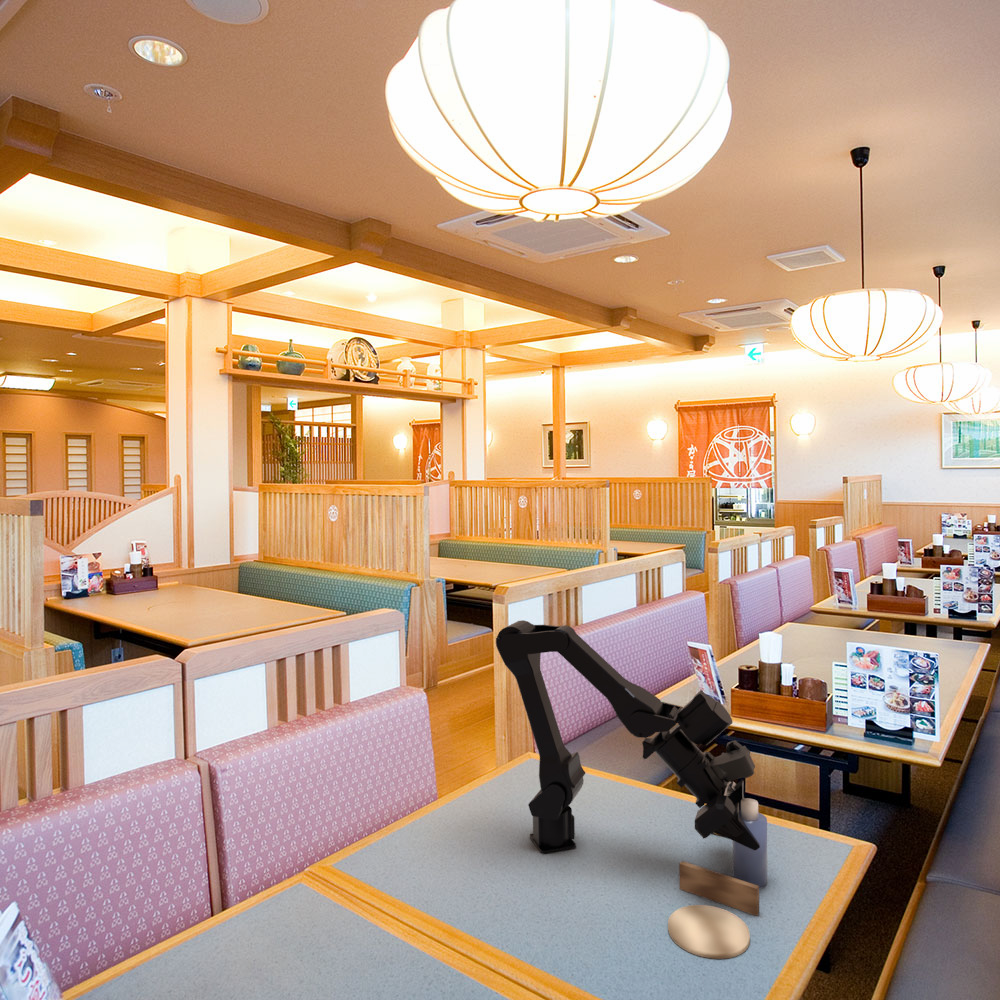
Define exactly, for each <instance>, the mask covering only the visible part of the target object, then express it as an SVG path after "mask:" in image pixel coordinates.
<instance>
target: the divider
mask: <svg viewBox="0 0 1000 1000" xmlns="http://www.w3.org/2000/svg"><path fill="white" fill-rule="evenodd" d="M678 865H679V866H678V867H679V869H678V871H679V874H678V875H679V877H678V878H679V882H678V883H679V890H682V891H684V892H686V893H690V894H693V895H696V896H699V897H701V898H704V899H707V900H710V901H713V902H715V903H719V904H721V905H724V906H726V907H727V906H728V907H730V908H733V909H735V910H738V911H739V910H740V911H741V912H744V913H748V914H750V915H752V916H756V917H757V916H759V914H760V888H759V886H758V885H755V884H752V883H748V882H745V881H742V880H739V879H736V878H733V876H730V875H726V874H723V873H720V872H718V871H714V870H710V869H708V868H705V867H702V866H699V865H697V864H692V863H690V862H686V861H683V860H681V861H680V862H679V864H678Z"/></svg>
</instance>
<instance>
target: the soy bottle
mask: <svg viewBox="0 0 1000 1000" xmlns="http://www.w3.org/2000/svg"><path fill="white" fill-rule="evenodd" d="M744 798H745V797H744ZM739 816H740V818H741V819H742V820H743V822H744V823H745V824H746V826H747V827H748V829H749V830H750V831H751V833H752V834H753V836H754V837H755V838H756V840H757V842H758V843H759V845H760V848H758V849H757V850H753V849H750V848H748V847H746V846H744V845H742V844H740V843H737V842H735V841H733V840H732V877H733V878H736V879H739V880H742V881H745V882H748V883H752V884H755V885H758V886H759V889H763V888H765V887H766V886H767V885H768V819H767V816H765V815H764V814H763V813H761V812H759V802H758V800H756V799H753V798H748V797H747V798H745V799H742V800H741V810H740V811H739Z"/></svg>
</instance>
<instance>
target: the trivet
mask: <svg viewBox="0 0 1000 1000" xmlns="http://www.w3.org/2000/svg"><path fill="white" fill-rule="evenodd" d="M667 929H668V935H669V936H670V938H671V939H672V941H673V942H674V943H675V944H676V945H677V946H679V948H681V949H682V950H684V951H686V952H688V953H690V954H693V955H695V956H697V957H702V958H707V959H713V960H723V959H724V960H725V959H727V960H728V959H731V958H735V957H737V956H741V955H742V954H743V953H745V951H747V949H748V948H749V946H750V943H751V942H750V941H751V934H750V930H749V927H748V925H747V924H746V923H745V922H744V920H743V919H741V918H740V917H739V916H737V915H736V914H734V913H732V912H731V911H729V910H726V909H723V908H720V907H717V906H712V905H707V904H705V905H704V904H693V905H692V904H691V905H686V906H682V907H679V908H678V909H676V910H674V911H673V912H672V913H671V914H670V915H669V917H668V923H667Z"/></svg>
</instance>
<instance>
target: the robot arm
mask: <svg viewBox="0 0 1000 1000" xmlns="http://www.w3.org/2000/svg"><path fill="white" fill-rule="evenodd" d="M495 646H496V647H495V648H496V649H497V652H498V653H499V656H500V658H501V659H502V662H503V664H504V665H505V666H506V668H507V669H508V670H509V671H510V673H511V674H512V675H513V676H514V678H515V680H516V684H517V686H518V690H519V693H520V696H521V699H522V703H523V705H524V710H525V712H526V716H527V718H528V721H529V726H530V728H531V732H532V736H533V738H534V743H535V745H536V749H537V751H538V755H539V763H538V764H539V765H538V766H539V767H538V769H539V770H538V779H539V786H540V790H539V791H538V792H537V793H536V795H535V796H534V797H533V798H532V799H531V800H530V801H529V803H528V809H529V811H530V814H531V816H532V833H530V834H529V838H530V839H531V841H532V842H533V844H534V845H535V846H536V848H537V850H539V853H541V854H546V853H547V854H548V853H552V852H553V853H554V852H559V851H563V850H564V851H566V850H570V849H575V848H577V843H576V842H575V841H574V840H575V838H576V836H575V834H576V833H575V832H576V831H575V829H576V827H575V826H576V825H575V824H576V823H575V820H576V819H575V816H574V815H573V811H572V807H571V806H570V805H571V804H572V802H573V801H574V800H575V798H576V797H577V795H578V794H579V792H580V791H581V789H582V787H583V785H584V777H585V775H586V771H585V770H584V768H583V766H582V764H581V758H580V754H579V752H576V751H575V752H574V753H571V752H570V751H569V749H568V748H566V746H565V744H564V741H563V738H562V735H561V732H560V728H559V724H558V723H557V718H556V715H555V712H554V708H553V706H552V702H551V699H550V697H549V693H548V690H547V687H546V684H545V680H544V676H543V673H542V671H541V656H542V655H541V654H544V653H552V652H553V653H558V654H559V655H560V656H562V658H564V660H566V661H567V662H568V663H569V664H570V665H571V666H572V667H573V668H574V669H575V670H576V671H577V672H578V673H579V674H580V675H581V676H582V677H584V678H585V680H587V681H588V682H589V683H590V684H591V685H592V686H593V687H594V688H595V689H596V690H597V691H598V692H599V693H601V695H603V696H604V697H605V698H606V700H607V701H608V702H609V704H610V705H611V707H612V709H613V711H614V714H615V715H616V717H617V719H619V721H620V722H621V723H622V724H623V726H624V727H625V728H626V730H627V731H628V732H629V733H630V735H633V736H634V737H636V738H644V739H643V740H642V743H641V744H642V759H644V760H646V759H648V758H650V757H651V756H652V755H653V754H654V753H655V754H656V755H657V757H659V758H660V760H661V761H662V762H663V763H664V764H665V765H666V766H667V767H668V769H670V771H671V772H672V773H673V775H675V776H676V778H677V781H676V784H677V785H678V786H679V787H680V788H683V787H684V786H685V788H686V789H687V790H688V791H689V792H690V793H691V794H692V795H693V796H694V797H695V799H696V800H695V803H694V804H695V805H696V806H697V807H698V808H699V809H698V810H697V813H696V814H695V817H694V818H695V819H694V830H695V831H696V832H697V833H698V834H699V836H701V837H702V839H707V838H708V837H710V836H711V835H712V834H714V833H716V834H718V835H717V836H719V835H721V836H720V837H724V838H726V839H729V840H731V841H732V842H733V841H735V842H737V843H740V844H742V845H744V846H746V847H748V848H750V849H753V850H757V849H758V848H760V845H759V843H758V842H757V840H756V838H755V837H754V836H753V834H752V833H751V831H750V830H749V829H748V827H747V826H746V824H745V823H744V822H743V820H742V819H741V818H740V816H739V811H740V810H741V800H742V799H745V796H744V779H747V778H751V777H752V776H753V775H754V773H755V768H756V765H755V763H754V761H753V759H752V757H751V751H750V750H749V749H748V748H747V747H746V745H742V744H741V743H739V742H738V741H737V740H731V741H729V742H727V743H726V751H725V752H722V753H721V754H720V755H718V756H714V755H713V754H712V753H711V752H710V751H707V750H705V751H704V752H703V751H702V750H700V748H699V747H698V746H700V745H703V746H707V745H709V744H710V743H711V742H713V740H714V739H716V738H717V737H718V736H719V735H721V734H722V732H724V731H725V730H726V729H727V728H728V727H730V726H731V725H732V724H733V718H732V717H731V715H730V714H729V712H728V710H727V709H726V708H725V706H724V705H723V704H722V703H721V702H720V701H719V700H716V699H715V698H713V697H712V696H710V695H707V694H706V693H705V692H704V690H699V691H698V692H697V693H696V694H695V695H694V697H693V698H692V699H691V700H690V701H689V702H688V703H685V705H684V706H681V705H676V704H673V703H669V702H664V701H661V699H660V698H659V697H657V696H656V695H655V694H653V693H651V692H650V691H648V690H646V688H644V687H642V686H640V685H637V684H635V683H633V682H631V681H629V680H628V679H626V678H625V677H624V676H623V675H621V673H619V672H618V671H617V670H616V669H615V668H614V667H613V665H611V664H610V663H608V661H606V659H605V658H603V657H602V656H601V655H600V654H599V653H598V652H597V650H594V648H593V647H591V645H589V644H588V643H587V641H585V640H584V639H583V638H582V637H581V636H580V635H579V634H577V632H576V631H575V629H574V628H573V627H572V626H570V625H566V624H564V625H552V624H551V625H550V624H534V623H531V622H529V621H526V620H517V621H515V622H513V623H511V624H510V625H507V626H505V627H503V628H502V629H500V631H498V634H497V636H496V637H495ZM654 734H656V735H655V736H654ZM651 736H653V737H651ZM739 779H740V781H738V782H737V783H736V782H734V781H737V780H739ZM716 834H715V835H716Z"/></svg>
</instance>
